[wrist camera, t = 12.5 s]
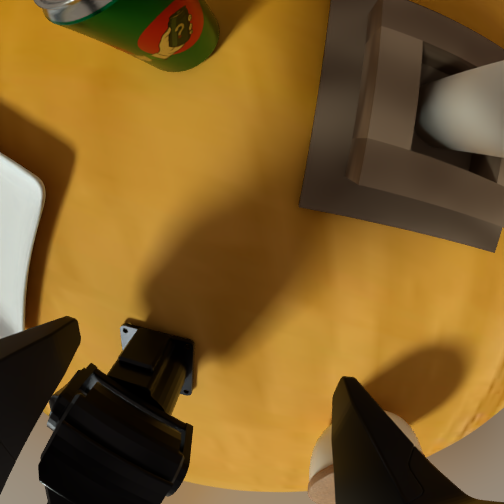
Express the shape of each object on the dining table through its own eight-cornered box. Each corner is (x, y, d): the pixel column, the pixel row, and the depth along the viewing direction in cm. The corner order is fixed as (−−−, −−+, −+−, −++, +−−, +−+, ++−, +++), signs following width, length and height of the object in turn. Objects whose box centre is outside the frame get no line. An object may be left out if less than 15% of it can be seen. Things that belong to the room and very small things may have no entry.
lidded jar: (419, 424, 25) (440, 491, 17) (334, 460, 28) (338, 527, 20) (390, 372, 23) (418, 458, 14) (286, 419, 26) (283, 502, 17)
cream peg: (459, 156, 16) (566, 182, 7) (404, 137, 16) (505, 144, 7) (467, 96, 14) (572, 86, 5) (413, 74, 15) (508, 34, 5)
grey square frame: (490, 250, 18) (519, 270, 14) (298, 205, 19) (302, 221, 15) (518, 63, 13) (549, 57, 9) (332, -18, 13) (341, -48, 9)
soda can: (226, 8, 15) (164, -105, 4) (214, 75, 17) (122, -1, 5) (155, 10, 15) (50, -67, 4) (142, 74, 17) (9, 33, 6)
